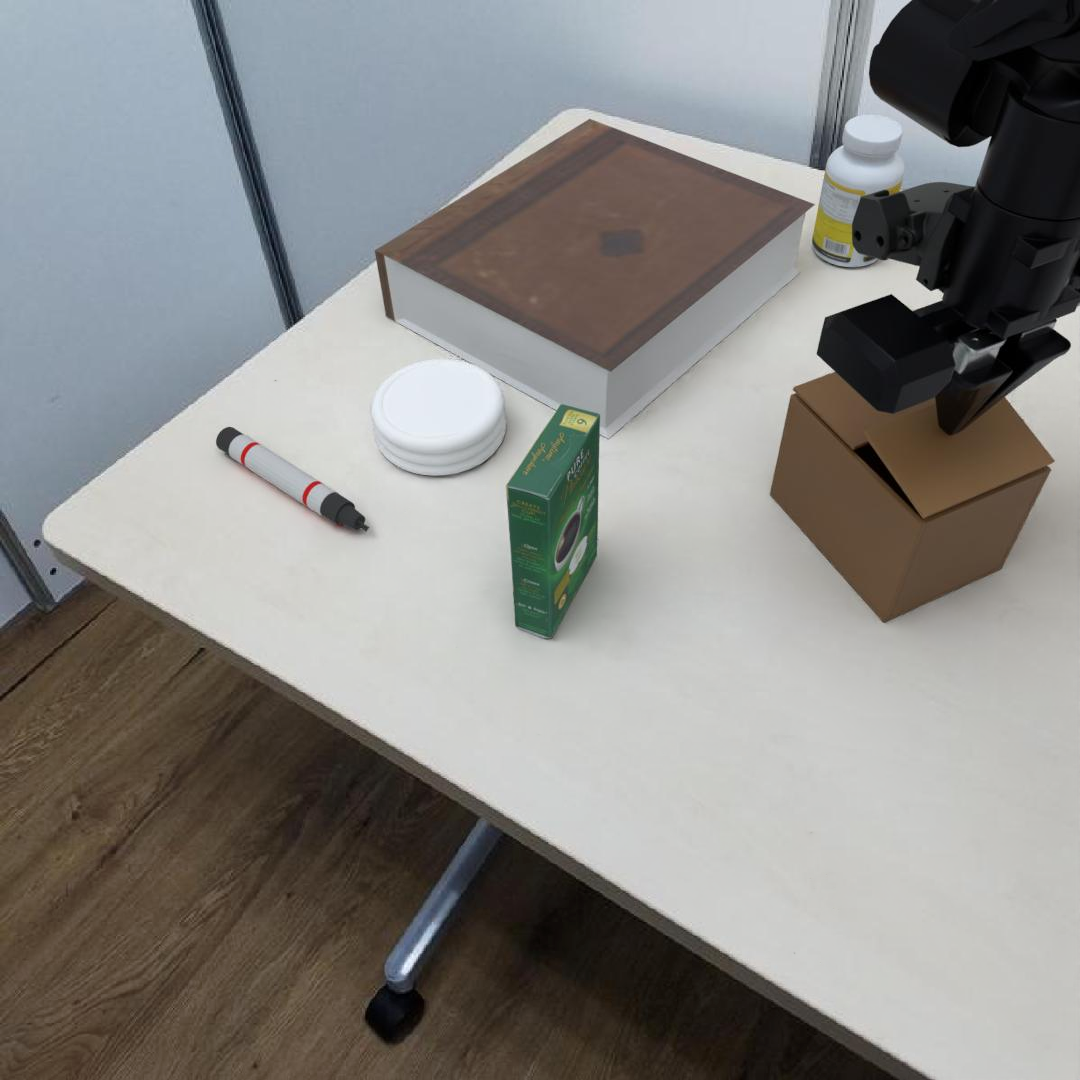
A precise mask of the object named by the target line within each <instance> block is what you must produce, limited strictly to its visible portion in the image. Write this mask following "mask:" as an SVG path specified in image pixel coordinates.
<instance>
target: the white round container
mask: <svg viewBox="0 0 1080 1080" xmlns="http://www.w3.org/2000/svg"><path fill="white" fill-rule="evenodd" d="M505 402H506V401H505V394H504V392H503V390H502V387H501V385H500V383H499V382H498V380H497V378H496V377H495V376H493V375H492V374H490V373H488V372H487V371H485V370H484V369H482V368H480V367H478V366H476V365H473V364H472V363H470V362H468V361H463V360H458V359H453V358H434V359H426V360H421V361H418V362H414V363H411V364H408V365H406V366H403V367H401V368H400V369H397V370H396V371H394V372H393V373H391V374H390V375H388V377H386V378H385V379H384V380H383V381H382V382H381V383H380V384H379V385H378V387H377V388H376V390H375V391H374V393H373V396H372V399H371V402H370V403H371V404H370V410H369V413H370V419H371V422H372V429H373V432H374V437H375V443H376V445H377V447H378V448H379V450H380V452H381V453H382V455H383V456H384V457H385V458H386V459H387V460H388V461H389V462H390V463H391V464H393V465H394V466H396V467H397V468H399V469H402V470H404V471H407V472H410V473H413V474H416V475H422V476H449V475H450V476H451V475H454V474H459V473H462V472H465V471H468V470H471V469H473V468H475V467H477V466H479V465H481V464H482V463H484V462H485V461H487V460H488V459H489V458H491V456H493V455H494V454H495V452H496V451H498V449H499V448H500V446H501V444H502V442H503V439H504V437H505V434H506V430H507V419H506V407H505Z"/></svg>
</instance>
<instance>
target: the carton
mask: <svg viewBox="0 0 1080 1080" xmlns="http://www.w3.org/2000/svg"><path fill="white" fill-rule="evenodd" d="M792 391H793V392H794V393H792V394H790V397H789V400H788V401H789V402H788V406H787V410H786V415H785V420H784V425H783V430H782V433H781V434H782V435H781V439H780V444H779V447H778V454H777V459H776V463H775V467H774V472H773V478H772V482H771V487H770V491H769V496H770V497H771V498H772V499H773V500H774V501H775V502H776V503H777V504H778V505H779V507H780V508H781V509H782V510H783V511H784V512H785V513H786V514H787V516H789V518H790V519H791V520H792V521H793V522H794V523H795V525H796V526H797V527H798V528H799V529H800V530H801V531H802V532H803V534H804V535H805V536H806V537H807V538H808V539H809V540H810V541H811V543H812V544H813V545H814V546H815V547H816V548H817V549H818V550H819V551H820V553H821V554H822V555H823V556H824V557H825V558H826V560H828V562H829V563H830V564H831V566H833V567H834V568H835V569H836V571H837V572H838V573H839V574H840V575H841V576H842V578H843V579H844V580H845V581H846V582H847V583H848V585H850V586H851V588H852V589H853V590H854V591H855V592H856V593H857V594H858V596H860V597H861V599H862V600H863V601H864V602H865V604H867V605H868V606H869V608H870V609H871V610H872V612H874V613H875V615H876V616H877V617H878V618H879V619H880V620H881V621H882V622H883V623H886V622H889V621H891V620H893V619H895V618H897V617H899V616H901V615H904V614H906V613H908V612H910V611H912V610H914V609H917V608H919V607H922V606H923V605H925V604H928V603H930V602H932V601H934V600H936V599H938V598H941V597H943V596H945V595H948V594H950V593H951V592H954V591H956V590H957V589H960V588H962V587H964V586H967V585H969V584H971V583H973V582H976V581H978V580H981V579H982V578H984V577H986V576H990V575H991V574H993V573H996V572H997V571H1000V570H1002V569H1003V567H1004V565H1005V563H1006V561H1007V559H1008V557H1009V555H1010V553H1011V551H1012V549H1013V547H1014V545H1015V544H1016V541H1017V539H1018V537H1019V535H1020V533H1021V531H1022V530H1023V528H1024V525H1025V524H1026V522H1027V519H1028V517H1029V516H1030V514H1031V512H1032V510H1033V508H1034V506H1035V504H1036V502H1037V500H1038V498H1039V495H1040V494H1041V492H1042V490H1043V488H1044V485H1045V484H1046V481H1047V479H1048V478H1049V475H1050V473H1051V471H1052V468H1051V467H1049V465H1047V466H1045V467H1043V468H1040V469H1038V470H1036V471H1033V472H1031V473H1029V474H1026V475H1024V476H1022V477H1019V478H1017V479H1015V480H1012V481H1010V482H1008V483H1006V484H1003V485H1001V486H999V487H996V488H994V489H992V490H989V491H987V492H985V493H982V494H980V495H978V496H975V497H973V498H971V499H968V500H966V501H964V502H961V503H959V504H957V505H954V506H952V507H950V508H947V509H945V510H943V511H940V512H938V513H936V514H933V515H931V516H929V517H926V518H924V519H923V518H922V517H921V515H920V514H919V513H918V511H917V510H916V508H915V507H914V505H913V504H912V503H911V501H910V500H909V498H908V497H907V495H906V494H905V493H904V491H903V490H902V488H901V487H900V485H899V484H898V483H897V481H896V480H895V478H894V477H893V476H892V474H891V473H890V471H889V470H888V468H887V467H886V466H885V464H884V463H883V461H882V460H881V458H880V457H879V456H878V454H877V453H876V451H875V450H874V448H873V447H872V446H871V444H870V443H869V441H868V440H867V439H866V437H865V436H864V434H863V433H864V431H866V430H868V429H871V428H873V427H876V426H878V425H881V424H883V423H886V422H888V421H891V420H894V419H896V418H899V417H901V416H904V415H906V414H909V413H911V412H914V411H917V410H919V409H922V408H924V407H927V406H929V405H932V404H934V403H936V401H935V397H934V398H933V399H930V400H927V401H925V402H922V403H920V404H917V405H915V406H912V407H909V408H907V409H904V410H902V411H899V412H897V413H894V414H891V413H886V412H881V411H877V410H876V409H875V408H874V407H872V406H871V405H870V404H869V403H868V402H867V401H866V400H865V399H864V398H863V397H862V396H861V395H860V394H859V393H857V392H856V391H855V390H854V389H853V388H852V387H851V386H850V385H849V384H848V383H847V382H846V381H845V380H843V379H842V378H841V377H840V376H839V375H838V374H837V373H836V372H835V371H832V372H829V373H827V374H825V375H822V376H820V377H819V376H818V377H816V378H814V379H811V380H809V381H808V380H807V381H806V382H803V383H801V384H798V385H795V386H793V388H792Z"/></svg>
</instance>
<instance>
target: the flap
mask: <svg viewBox="0 0 1080 1080" xmlns="http://www.w3.org/2000/svg"><path fill="white" fill-rule="evenodd" d="M863 434H864V436H865V437H866V439H867V440H868V441H869V443H870V444H871V446H872V447H873V448H874V450H875V451H876V453H877V454H878V456H879V457H880V458H881V460H882V461H883V463H884V464H885V466H886V467H887V468H888V470H889V471H890V473H891V474H892V476H893V477H894V478H895V480H896V481H897V483H898V484H899V485H900V487H901V488H902V490H903V491H904V493H905V494H906V495H907V497H908V498H909V500H910V501H911V503H912V504H913V505H914V507H915V508H916V510H917V511H918V513H919V514H920V515H921V517H922V518H923V519H924V518H926V517H929V516H931V515H933V514H936V513H938V512H940V511H943V510H945V509H947V508H950V507H952V506H954V505H957V504H959V503H961V502H964V501H966V500H968V499H971V498H973V497H975V496H978V495H980V494H982V493H985V492H987V491H989V490H992V489H994V488H996V487H999V486H1001V485H1003V484H1006V483H1008V482H1010V481H1012V480H1015V479H1017V478H1019V477H1022V476H1024V475H1026V474H1029V473H1031V472H1033V471H1036V470H1038V469H1040V468H1043V467H1045V466H1050V465H1052V464H1054V462H1055V461H1056V460H1055V459H1054V458H1053V456H1052V455H1051V454H1050V453H1049V451H1048V450H1047V449H1046V447H1045V446H1044V445H1043V444H1042V442H1041V441H1040V440H1039V439H1038V437H1037V436H1036V434H1034V432H1033V430H1031V428H1030V427H1029V425H1028V424H1027V423H1026V422H1025V421H1024V419H1023V418H1022V417H1021V416H1020V414H1019V413H1018V411H1016V409H1015V408H1014V406H1013V405H1012V404H1011V403H1010V401H1009V400H1008V399H1007V397H1006V396H1005V397H1004V398H1003V399H1001V400H1000V401H999V402H998V403H996V404H995V405H994V406H993V407H991V408H990V409H989V410H988V411H986V412H985V413H984V414H983V415H981V416H980V417H979V418H977V419H976V420H975V421H974V422H972V423H971V424H970V425H969V426H967V427H966V428H965V429H964V430H962V431H961V432H959V433H956V434H954V435H951V436H950V435H948V434H947V433H946V432H944V431H943V430H942V429H941V428H940V427H939V425H938V418H937V409H936V403H934V404H932V405H929V406H927V407H924V408H922V409H919V410H917V411H914V412H911V413H909V414H906V415H904V416H901V417H899V418H896V419H894V420H891V421H888V422H886V423H883V424H881V425H878V426H876V427H873V428H871V429H868V430H866V431H864V433H863Z"/></svg>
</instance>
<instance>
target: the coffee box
mask: <svg viewBox="0 0 1080 1080" xmlns="http://www.w3.org/2000/svg"><path fill="white" fill-rule="evenodd" d="M599 473H600V414H598V413H594V412H590V411H586V410H582V409H579V408H575V407H572V406H567V405H563V404H561V405H560V406H559V407H558V409H557V410H555V411H554V413H553V414H552V416H551V418H550V419H549V420H548V422H547V424H546V425H545V427H544V428H543V429H542V431H541V433H540V434H539V436H538V437H537V438H536V440H535V441H534V443H533V444H532V446H531V448H530V449H529V450H528V452H527V453H526V455H525V456H524V458H523V459H522V461H521V462H520V464H519V465H518V467H517V468H516V469H515V471H514V473H513V475H512V476H511V477H510V479H509V480H508V482H507V483H506V485H505V491H506V493H505V494H506V505H507V516H508V517H507V518H508V533H509V534H508V535H509V546H510V547H509V548H510V565H511V574H512V575H511V578H512V597H513V612H514V626H515V628H517V629H519V630H521V631H524V632H526V633H530V634H532V635H533V636H537V637H539V638H543V639H552V638H553V636H554V634H555V632H556V631H557V628H558V627H559V625H560V624H561V622H562V621H563V619H564V617H565V615H566V612H567V611H568V609H569V607H570V604H571V603H572V601H573V599H574V597H575V596H576V594H577V592H578V590H579V589H580V587H581V585H582V584H583V581H584V579H586V577H587V574H588V572H589V571H590V569H591V567H592V565H593V564H594V561H595V559H596V558H597V556H598V552H597V551H598V540H599V539H598V534H599V533H598V532H599V530H598V529H599V486H600V484H599V481H600V480H599V479H600V477H599V476H600V474H599Z"/></svg>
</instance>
